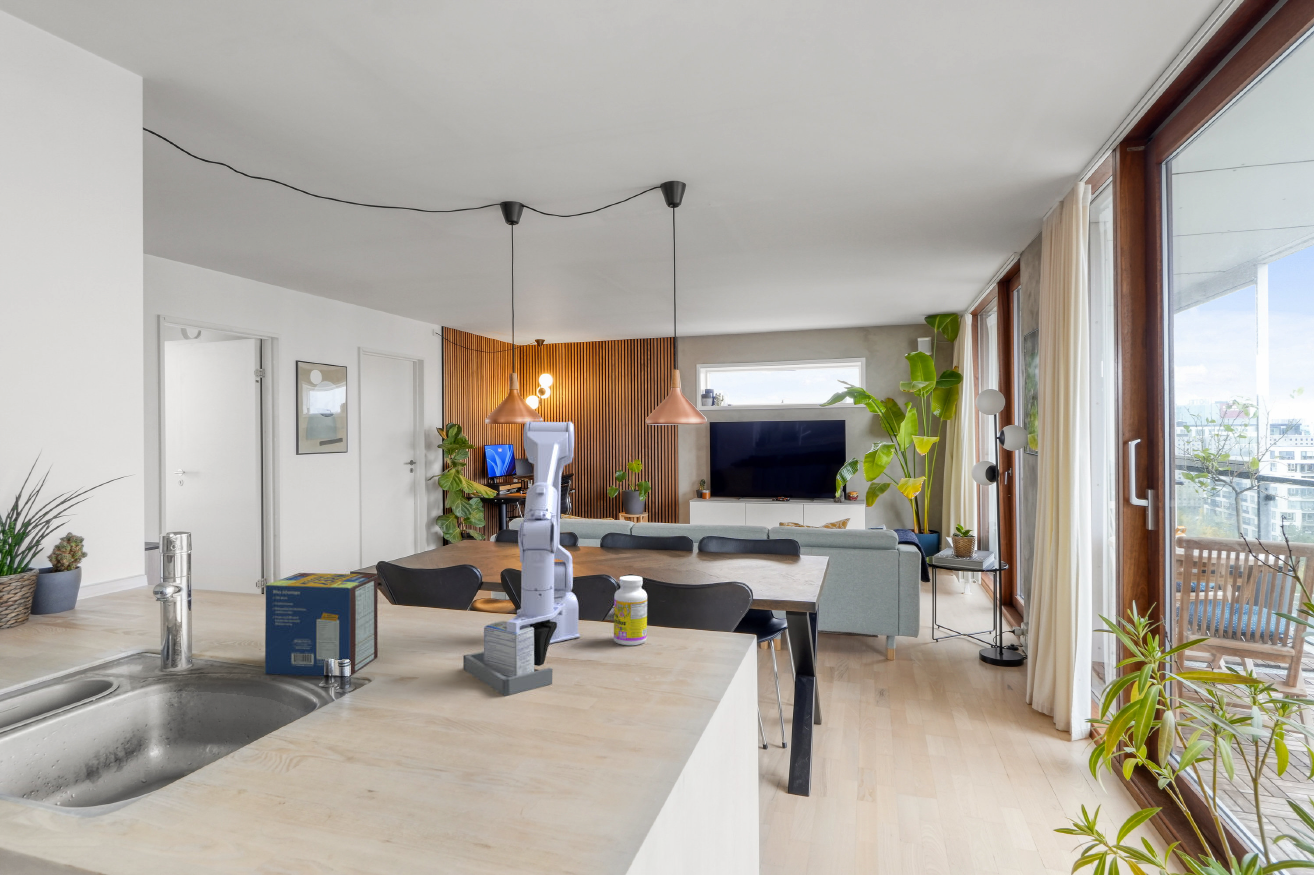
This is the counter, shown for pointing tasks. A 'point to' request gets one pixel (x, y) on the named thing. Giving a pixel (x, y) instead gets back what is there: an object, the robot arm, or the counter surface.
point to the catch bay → (500, 682)
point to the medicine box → (509, 649)
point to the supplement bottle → (630, 612)
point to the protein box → (320, 622)
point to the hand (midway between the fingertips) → (537, 664)
